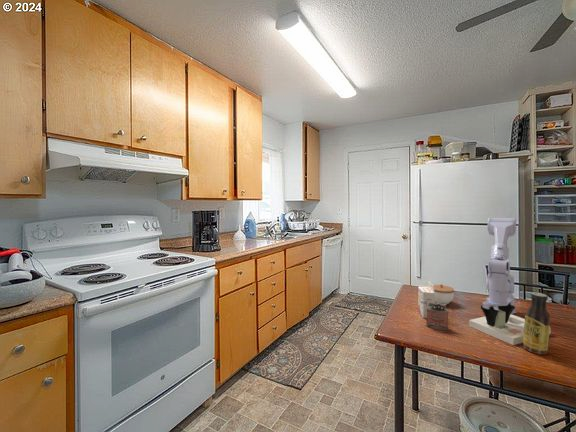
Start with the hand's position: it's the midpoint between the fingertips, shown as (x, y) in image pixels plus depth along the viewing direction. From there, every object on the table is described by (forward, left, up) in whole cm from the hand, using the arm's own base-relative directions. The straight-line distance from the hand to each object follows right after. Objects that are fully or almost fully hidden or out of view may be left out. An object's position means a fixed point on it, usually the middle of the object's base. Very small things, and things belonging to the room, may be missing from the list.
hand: (497, 323), depth 105 cm
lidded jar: (-6, -30, -3) cm, 31 cm away
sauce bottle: (+3, +14, -3) cm, 15 cm away
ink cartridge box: (+13, -22, -3) cm, 26 cm away
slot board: (-5, +1, -3) cm, 6 cm away
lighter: (+19, -11, -3) cm, 22 cm away
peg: (0, 0, -3) cm, 3 cm away
